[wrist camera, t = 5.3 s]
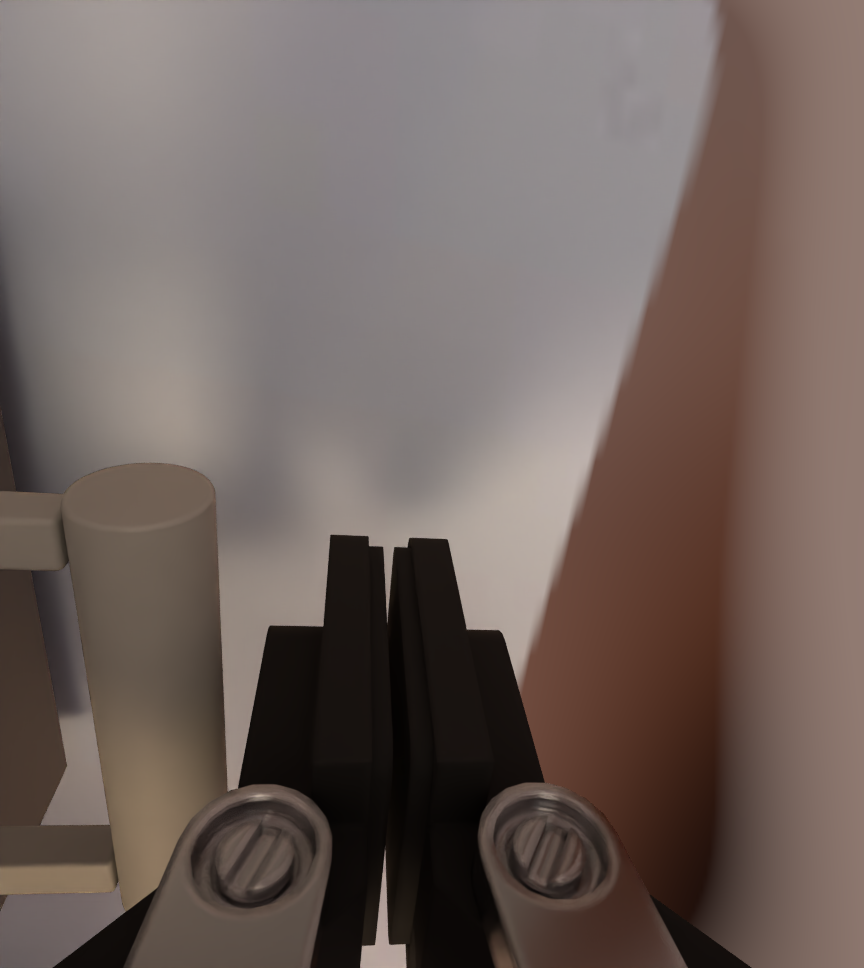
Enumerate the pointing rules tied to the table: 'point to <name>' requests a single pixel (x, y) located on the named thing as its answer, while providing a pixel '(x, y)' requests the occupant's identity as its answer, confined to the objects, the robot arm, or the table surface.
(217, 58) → the table surface
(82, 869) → the drawer
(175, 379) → the table surface
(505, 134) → the table surface
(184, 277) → the table surface
